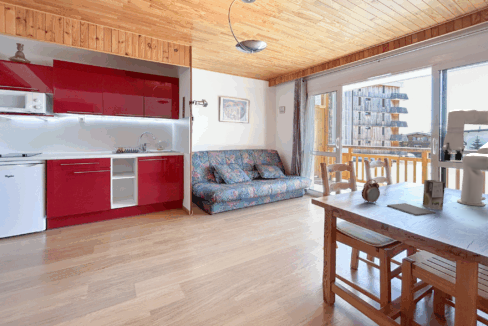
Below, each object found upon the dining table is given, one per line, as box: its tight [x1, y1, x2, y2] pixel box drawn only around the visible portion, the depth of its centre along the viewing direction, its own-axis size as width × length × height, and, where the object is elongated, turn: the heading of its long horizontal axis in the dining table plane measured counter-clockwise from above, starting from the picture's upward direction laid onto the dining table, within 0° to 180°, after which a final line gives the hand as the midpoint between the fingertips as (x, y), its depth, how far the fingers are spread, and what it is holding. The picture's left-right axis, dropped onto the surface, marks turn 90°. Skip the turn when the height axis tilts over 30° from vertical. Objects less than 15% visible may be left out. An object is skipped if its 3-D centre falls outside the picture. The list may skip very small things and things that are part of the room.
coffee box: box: [422, 179, 446, 211], centre depth 138 cm, size 9×6×16 cm
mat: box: [386, 202, 436, 216], centre depth 135 cm, size 14×18×1 cm
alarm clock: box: [361, 179, 381, 203], centre depth 148 cm, size 11×5×15 cm, turn 105°
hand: (452, 160), depth 139 cm, fingers open, 8 cm apart
